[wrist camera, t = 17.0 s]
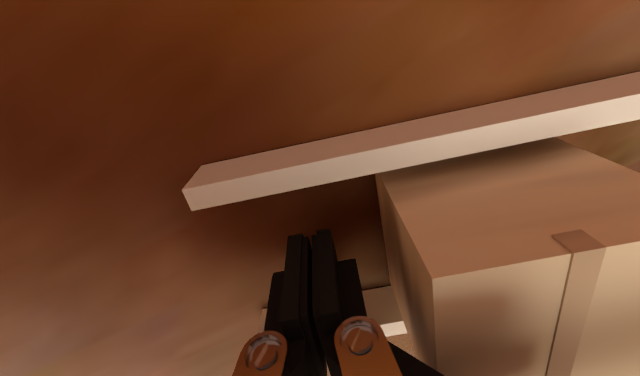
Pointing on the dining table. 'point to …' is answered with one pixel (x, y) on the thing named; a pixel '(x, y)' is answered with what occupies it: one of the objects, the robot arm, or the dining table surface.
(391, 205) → the cardboard box
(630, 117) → the bay
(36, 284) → the dining table surface
